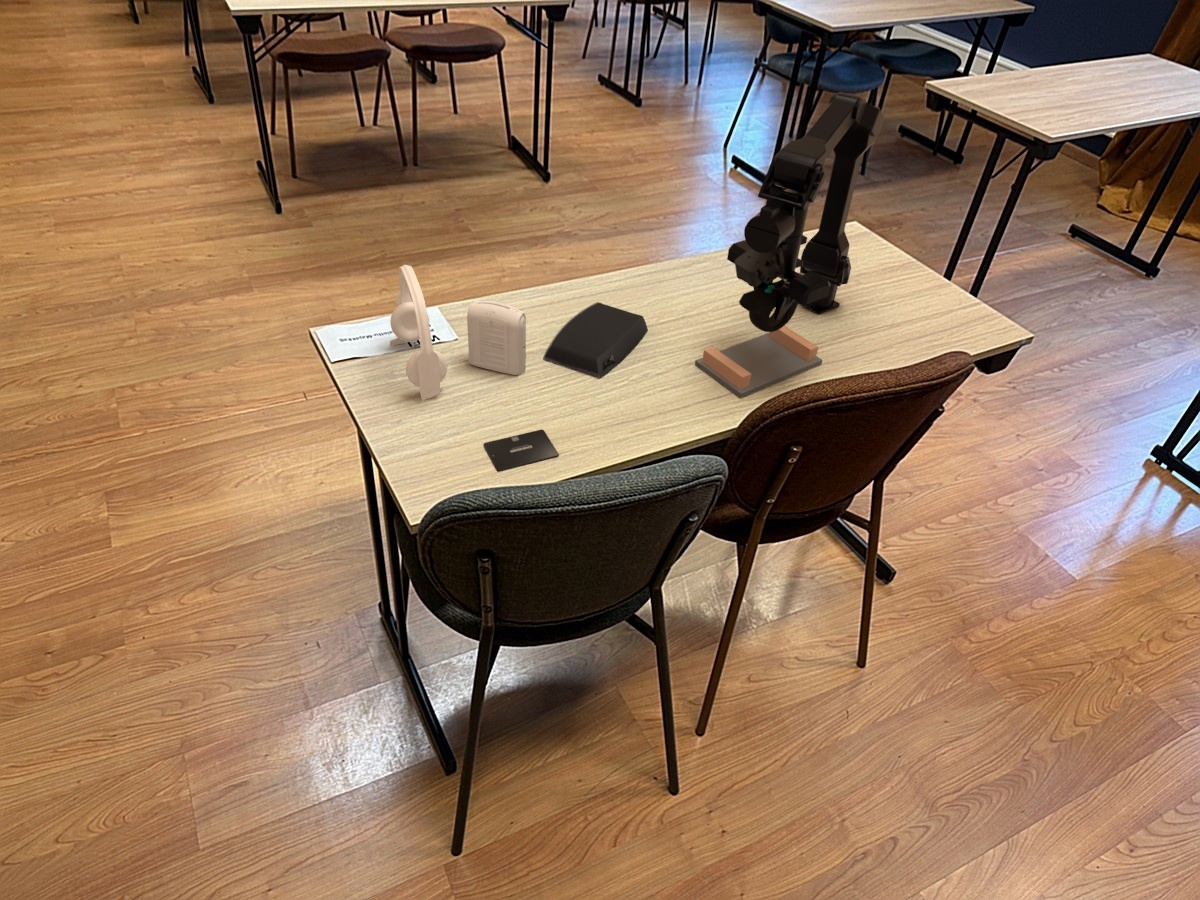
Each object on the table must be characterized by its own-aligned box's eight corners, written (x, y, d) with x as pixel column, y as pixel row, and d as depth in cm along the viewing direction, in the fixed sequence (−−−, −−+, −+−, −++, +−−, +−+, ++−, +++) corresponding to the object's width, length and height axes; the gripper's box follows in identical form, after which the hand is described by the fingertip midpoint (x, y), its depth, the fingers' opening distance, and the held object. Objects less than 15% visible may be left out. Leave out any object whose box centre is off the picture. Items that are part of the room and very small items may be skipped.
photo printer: (529, 365, 147) (529, 303, 140) (520, 378, 144) (519, 315, 136) (475, 353, 150) (472, 292, 142) (465, 366, 146) (461, 303, 138)
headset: (452, 399, 139) (445, 304, 127) (409, 406, 137) (398, 310, 125) (428, 337, 153) (419, 247, 142) (389, 343, 151) (377, 251, 140)
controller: (800, 326, 148) (810, 274, 142) (747, 345, 142) (756, 291, 136) (783, 316, 151) (792, 264, 144) (731, 334, 145) (738, 281, 139)
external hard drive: (538, 360, 150) (538, 340, 147) (591, 314, 163) (592, 295, 161) (602, 382, 145) (604, 362, 143) (651, 333, 159) (653, 314, 156)
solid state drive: (483, 446, 130) (482, 443, 130) (543, 432, 134) (543, 428, 133) (497, 473, 125) (497, 470, 125) (559, 458, 129) (559, 454, 128)
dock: (774, 334, 159) (777, 318, 157) (821, 364, 152) (825, 348, 150) (694, 365, 150) (697, 348, 148) (740, 398, 143) (743, 381, 140)
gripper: (709, 219, 137) (698, 303, 147) (791, 265, 125) (773, 353, 135) (758, 204, 142) (744, 287, 152) (842, 248, 130) (821, 334, 140)
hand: (768, 314), depth 145 cm, fingers closed on controller, 4 cm apart
